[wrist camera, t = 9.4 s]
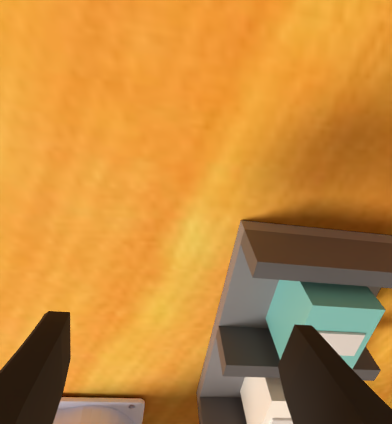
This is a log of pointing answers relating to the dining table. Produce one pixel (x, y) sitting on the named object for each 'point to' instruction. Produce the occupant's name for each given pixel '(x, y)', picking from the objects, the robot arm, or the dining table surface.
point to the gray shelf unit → (262, 297)
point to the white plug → (264, 401)
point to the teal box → (325, 315)
